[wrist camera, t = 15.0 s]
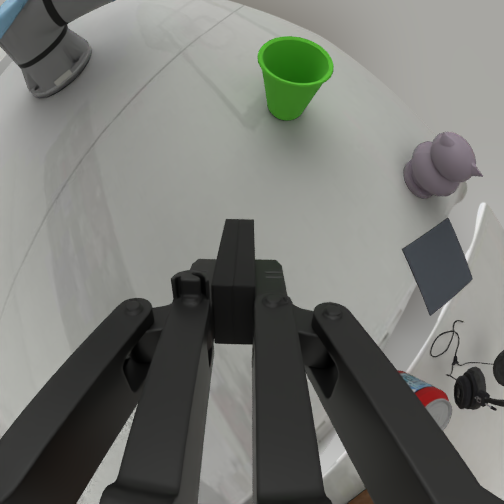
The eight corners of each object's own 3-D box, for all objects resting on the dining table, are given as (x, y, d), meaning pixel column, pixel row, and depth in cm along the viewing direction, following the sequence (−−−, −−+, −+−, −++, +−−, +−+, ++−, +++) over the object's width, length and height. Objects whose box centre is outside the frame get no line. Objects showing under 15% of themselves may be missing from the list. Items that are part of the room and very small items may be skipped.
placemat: (402, 249, 37) (402, 249, 37) (447, 218, 38) (448, 217, 37) (429, 315, 36) (430, 315, 36) (471, 278, 37) (472, 278, 36)
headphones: (487, 308, 36) (575, 312, 16) (485, 369, 35) (565, 391, 15) (425, 330, 36) (528, 350, 16) (424, 397, 34) (509, 445, 14)
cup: (326, 106, 39) (346, 61, 28) (292, 143, 38) (307, 98, 27) (278, 76, 39) (286, 27, 28) (241, 110, 38) (241, 60, 27)
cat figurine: (446, 179, 38) (492, 153, 26) (430, 214, 37) (481, 193, 26) (409, 145, 39) (449, 109, 27) (390, 178, 38) (434, 144, 26)
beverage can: (411, 366, 35) (461, 388, 23) (404, 407, 34) (448, 438, 22) (372, 371, 35) (417, 399, 23) (365, 414, 34) (404, 452, 22)
